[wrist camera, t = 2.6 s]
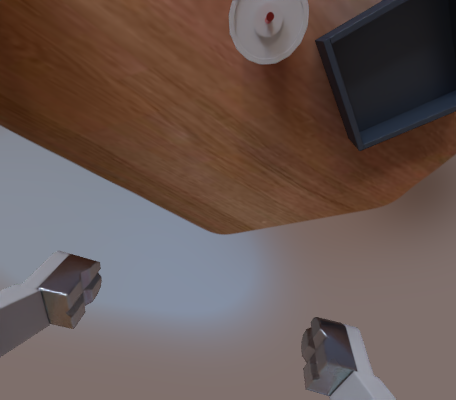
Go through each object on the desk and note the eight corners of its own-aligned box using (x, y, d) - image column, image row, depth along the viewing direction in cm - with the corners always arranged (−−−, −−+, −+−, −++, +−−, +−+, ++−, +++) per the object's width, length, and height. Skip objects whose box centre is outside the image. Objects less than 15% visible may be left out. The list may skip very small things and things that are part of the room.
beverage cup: (306, 29, 28) (341, 25, 16) (258, 69, 30) (257, 92, 18) (274, -30, 25) (286, -85, 14) (225, 18, 28) (199, 7, 16)
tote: (348, 138, 33) (359, 151, 30) (314, 40, 28) (322, 41, 24) (461, 89, 29) (489, 97, 25) (446, -37, 24) (478, -50, 20)
